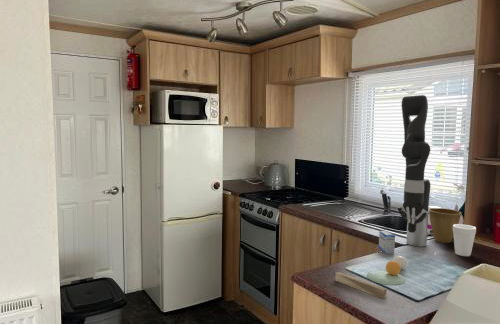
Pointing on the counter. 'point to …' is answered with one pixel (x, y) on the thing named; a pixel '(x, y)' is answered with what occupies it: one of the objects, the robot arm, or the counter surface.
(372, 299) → the counter surface
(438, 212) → the plant pot
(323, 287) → the counter surface
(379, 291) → the light wooden bar
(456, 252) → the foam cup
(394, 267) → the orange ball
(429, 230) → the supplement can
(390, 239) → the medicine box
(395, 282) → the mint mark
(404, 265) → the white ball
